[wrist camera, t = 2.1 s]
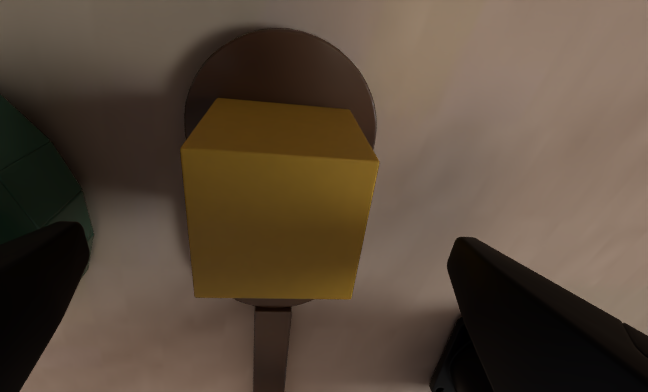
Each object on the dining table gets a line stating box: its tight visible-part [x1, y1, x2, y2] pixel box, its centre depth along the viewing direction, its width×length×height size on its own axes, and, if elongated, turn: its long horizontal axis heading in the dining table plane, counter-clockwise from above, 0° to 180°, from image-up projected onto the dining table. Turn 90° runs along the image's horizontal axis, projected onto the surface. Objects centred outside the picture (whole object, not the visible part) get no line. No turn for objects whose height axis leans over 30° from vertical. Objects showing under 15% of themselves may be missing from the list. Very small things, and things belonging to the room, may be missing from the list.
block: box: [180, 98, 379, 299], centre depth 10 cm, size 4×4×4 cm
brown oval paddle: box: [184, 28, 376, 392], centre depth 16 cm, size 23×7×1 cm, turn 174°
